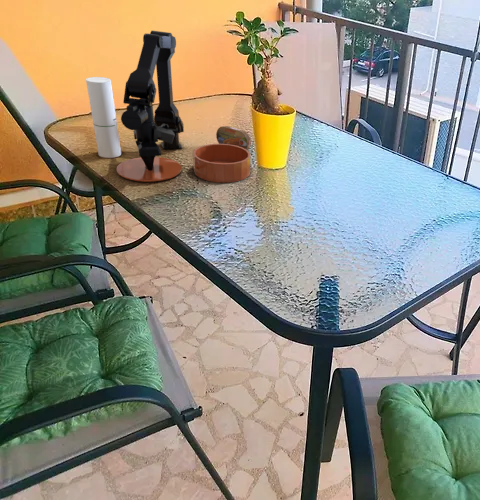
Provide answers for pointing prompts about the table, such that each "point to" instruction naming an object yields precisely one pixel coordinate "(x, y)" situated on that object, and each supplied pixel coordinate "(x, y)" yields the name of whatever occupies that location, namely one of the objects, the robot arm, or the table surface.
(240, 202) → the table surface
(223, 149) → the pot
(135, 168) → the lid
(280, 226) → the table surface
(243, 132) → the tin
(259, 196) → the table surface
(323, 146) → the table surface
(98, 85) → the cylindrical container
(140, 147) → the robot arm
